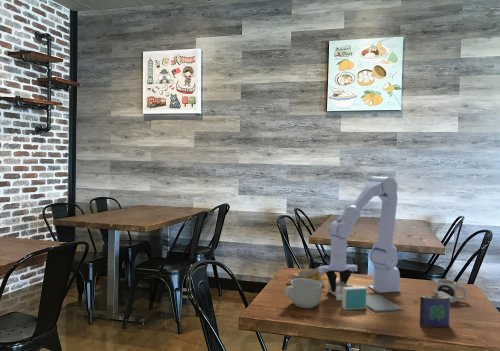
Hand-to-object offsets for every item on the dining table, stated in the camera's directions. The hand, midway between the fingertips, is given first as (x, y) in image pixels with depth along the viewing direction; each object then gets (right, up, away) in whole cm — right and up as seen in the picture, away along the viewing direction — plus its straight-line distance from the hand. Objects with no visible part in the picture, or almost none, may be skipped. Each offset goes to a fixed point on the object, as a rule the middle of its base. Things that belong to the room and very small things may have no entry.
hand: (337, 290), depth 156 cm
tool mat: (+12, -2, -8) cm, 15 cm away
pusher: (0, -2, 0) cm, 2 cm away
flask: (+24, -4, -27) cm, 36 cm away
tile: (+3, -2, -13) cm, 13 cm away
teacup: (-15, -2, -12) cm, 19 cm away
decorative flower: (-9, -2, +14) cm, 16 cm away
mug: (+41, -3, -2) cm, 41 cm away
